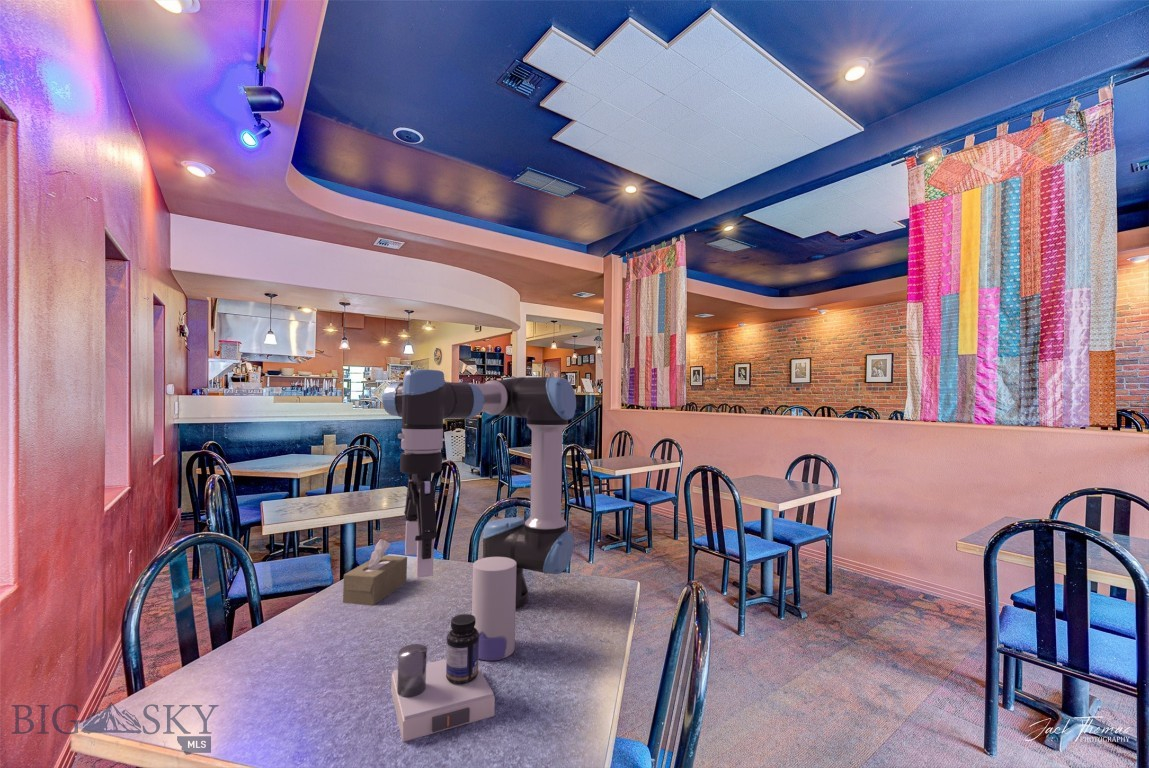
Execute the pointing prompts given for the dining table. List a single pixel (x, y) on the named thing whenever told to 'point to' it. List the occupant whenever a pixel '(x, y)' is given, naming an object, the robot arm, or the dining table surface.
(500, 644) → the container
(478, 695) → the scale
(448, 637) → the pill bottle
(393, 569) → the tissue box
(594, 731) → the dining table surface
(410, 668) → the cylinder
